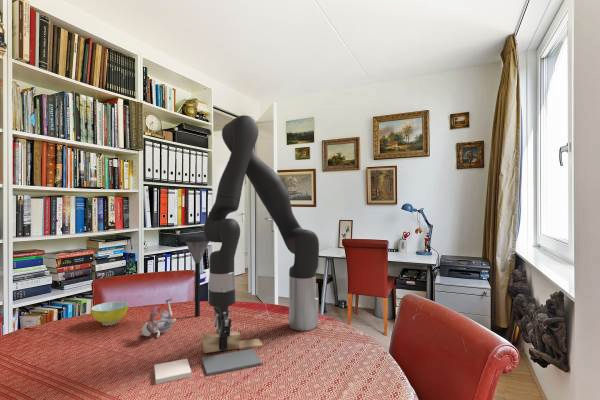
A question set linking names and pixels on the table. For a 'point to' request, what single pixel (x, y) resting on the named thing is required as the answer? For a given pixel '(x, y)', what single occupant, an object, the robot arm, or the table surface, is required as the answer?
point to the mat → (230, 361)
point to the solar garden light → (197, 262)
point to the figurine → (159, 322)
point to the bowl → (109, 312)
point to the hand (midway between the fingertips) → (222, 347)
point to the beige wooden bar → (228, 342)
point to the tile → (172, 371)
